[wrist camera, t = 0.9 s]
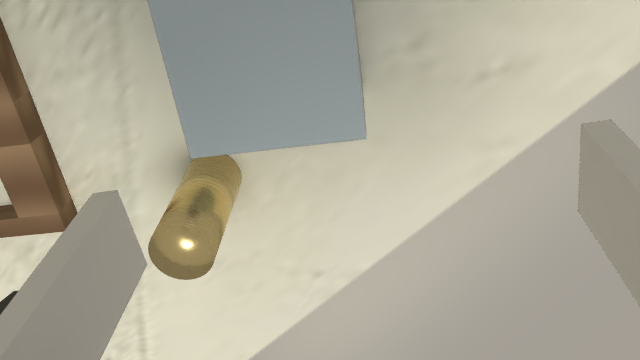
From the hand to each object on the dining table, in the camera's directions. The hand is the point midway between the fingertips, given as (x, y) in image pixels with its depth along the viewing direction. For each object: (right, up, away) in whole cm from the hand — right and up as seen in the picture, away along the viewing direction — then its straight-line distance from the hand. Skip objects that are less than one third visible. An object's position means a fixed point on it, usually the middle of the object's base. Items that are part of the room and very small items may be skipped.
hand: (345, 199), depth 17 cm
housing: (-4, +12, +17) cm, 21 cm away
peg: (-8, +1, +23) cm, 24 cm away
